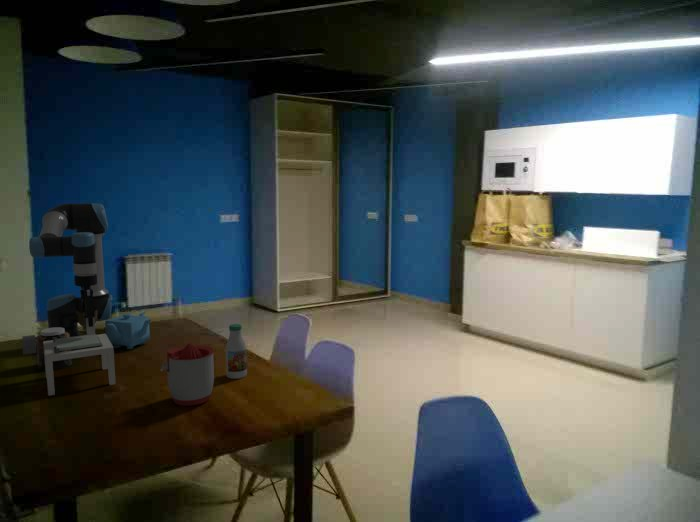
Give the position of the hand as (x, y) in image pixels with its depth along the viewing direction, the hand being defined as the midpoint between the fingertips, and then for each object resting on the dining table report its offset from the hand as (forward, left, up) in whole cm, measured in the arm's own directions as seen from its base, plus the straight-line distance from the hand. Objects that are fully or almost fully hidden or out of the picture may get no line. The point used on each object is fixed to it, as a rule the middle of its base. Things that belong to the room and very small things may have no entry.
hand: (89, 330), depth 200 cm
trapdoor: (0, -9, -4) cm, 10 cm away
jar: (-24, -11, -19) cm, 32 cm away
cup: (-3, 0, 0) cm, 3 cm away
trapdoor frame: (0, -4, -19) cm, 19 cm away
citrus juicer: (+40, +26, -19) cm, 51 cm away
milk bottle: (+25, +48, -19) cm, 57 cm away
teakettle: (-38, +20, -19) cm, 47 cm away
